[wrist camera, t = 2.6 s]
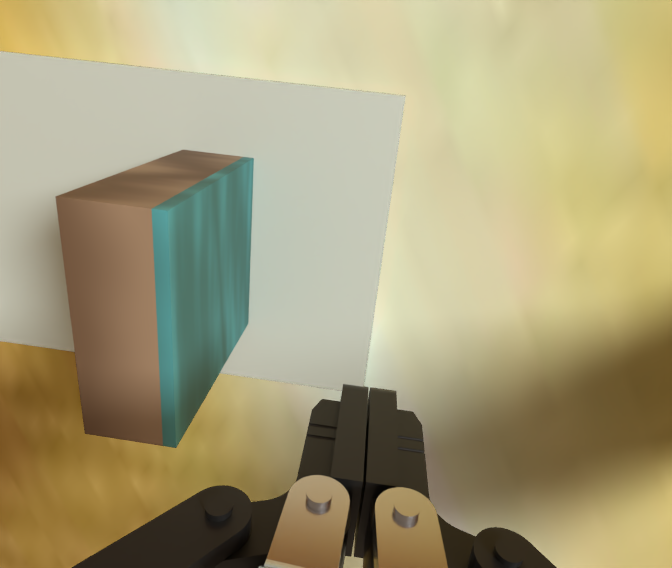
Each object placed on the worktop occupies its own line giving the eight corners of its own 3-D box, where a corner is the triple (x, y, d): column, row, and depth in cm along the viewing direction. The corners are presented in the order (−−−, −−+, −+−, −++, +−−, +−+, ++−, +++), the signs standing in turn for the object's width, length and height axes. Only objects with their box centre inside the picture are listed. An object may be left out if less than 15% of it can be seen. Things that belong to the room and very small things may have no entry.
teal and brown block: (253, 157, 24) (167, 210, 15) (248, 323, 28) (175, 447, 19) (182, 149, 24) (55, 196, 15) (186, 315, 28) (85, 433, 19)
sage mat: (405, 95, 23) (405, 95, 22) (363, 388, 29) (362, 394, 29) (-73, 43, 24) (-82, 42, 24) (-14, 334, 31) (-20, 338, 30)
